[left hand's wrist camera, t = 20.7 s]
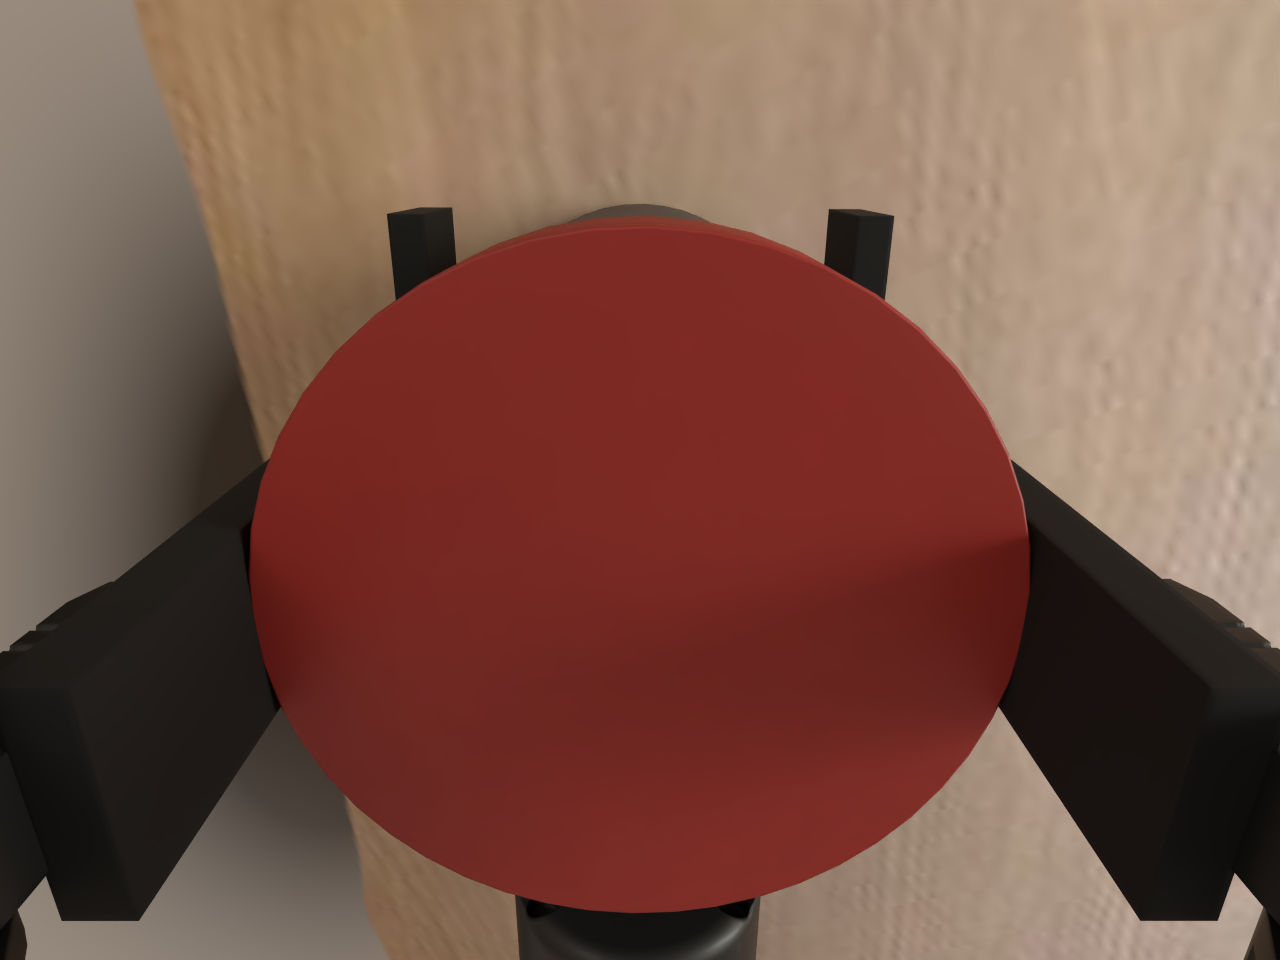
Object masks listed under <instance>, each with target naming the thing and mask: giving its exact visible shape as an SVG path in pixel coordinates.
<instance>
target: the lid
mask: <svg viewBox="0 0 1280 960" xmlns="http://www.w3.org/2000/svg"><path fill="white" fill-rule="evenodd" d="M248 576H249V587H250V596H251V601H252V607H253V613H254V618H255V623H256V628H257V633H258V638H259V643H260V647H261V652H262V657H263V662H264V666H265V669H266V671H267V674H268V676H269V679H270V681H271V684H272V686H273V689H274V691H275V694H276V696H277V699H278V701H279V704H280V706H281V707H282V709H283V711H284V713H285V714H286V716H287V718H288V720H289V721H290V723H291V725H292V727H293V728H294V730H295V732H296V734H297V735H298V737H299V739H300V741H301V742H302V744H303V745H304V746H305V748H306V749H307V750H308V752H309V753H310V754H311V756H312V757H313V758H314V760H315V761H316V762H317V763H318V765H319V766H320V767H321V769H322V770H323V771H324V773H325V774H326V775H327V777H328V778H329V779H330V780H331V781H332V782H333V783H334V784H335V785H336V786H337V787H338V788H339V789H340V790H341V791H342V792H343V793H344V794H345V795H346V796H347V797H348V798H349V799H350V800H351V801H352V802H353V804H354V805H355V806H356V807H357V808H359V809H360V810H361V811H362V812H364V813H365V814H366V815H367V816H368V817H370V818H371V819H372V820H373V821H375V822H376V823H377V824H378V825H379V826H381V827H382V828H383V829H384V830H386V831H387V832H388V833H389V834H391V835H392V836H394V837H395V838H397V839H398V840H400V841H401V842H403V843H405V844H406V845H408V846H409V847H411V848H412V849H414V850H415V851H417V852H418V853H420V854H422V855H423V856H425V857H426V858H428V859H430V860H432V861H434V862H436V863H438V864H440V865H442V866H444V867H446V868H448V869H450V870H452V871H454V872H456V873H458V874H460V875H462V876H464V877H466V878H469V879H472V880H474V881H477V882H480V883H482V884H485V885H487V886H490V887H493V888H495V889H498V890H501V891H503V892H506V893H510V894H514V895H518V896H521V897H525V898H529V899H532V900H536V901H540V902H544V903H548V904H554V905H560V906H566V907H572V908H578V909H584V910H593V911H608V912H623V913H651V912H677V911H685V910H693V909H700V908H708V907H716V906H721V905H725V904H730V903H734V902H738V901H743V900H747V899H752V898H756V897H760V896H763V895H766V894H769V893H772V892H775V891H778V890H781V889H784V888H787V887H790V886H793V885H796V884H799V883H801V882H803V881H805V880H808V879H810V878H812V877H814V876H816V875H819V874H821V873H823V872H825V871H827V870H830V869H832V868H834V867H836V866H838V865H840V864H842V863H844V862H845V861H847V860H849V859H850V858H852V857H854V856H856V855H857V854H859V853H861V852H862V851H864V850H866V849H867V848H869V847H871V846H873V845H874V844H876V843H877V842H879V841H880V840H881V839H883V838H884V837H885V836H887V835H888V834H889V833H891V832H892V831H893V830H895V829H896V828H897V827H899V826H900V825H901V824H903V823H904V822H905V821H907V820H908V819H909V818H911V817H912V816H913V815H914V814H915V813H916V812H917V811H918V810H919V809H920V808H921V807H922V806H923V805H924V804H925V803H926V802H928V801H929V800H930V799H931V798H932V797H933V796H934V795H935V794H936V793H937V792H938V791H939V790H940V789H941V788H942V787H943V786H944V785H945V784H946V782H947V781H948V780H949V779H950V777H951V776H952V775H953V774H954V773H955V771H956V770H957V769H958V768H959V767H960V765H961V764H962V763H963V762H964V761H965V759H966V758H967V757H968V756H969V754H970V753H971V751H972V750H973V748H974V747H975V745H976V743H977V742H978V740H979V739H980V737H981V736H982V734H983V733H984V731H985V729H986V728H987V726H988V725H989V723H990V722H991V720H992V718H993V716H994V714H995V712H996V710H997V707H998V705H999V703H1000V701H1001V699H1002V697H1003V695H1004V692H1005V690H1006V688H1007V686H1008V684H1009V682H1010V680H1011V676H1012V673H1013V670H1014V667H1015V663H1016V658H1017V654H1018V649H1019V645H1020V640H1021V635H1022V630H1023V625H1024V620H1025V614H1026V609H1027V604H1028V598H1029V593H1030V541H1029V535H1028V528H1027V521H1026V515H1025V508H1024V501H1023V497H1022V494H1021V491H1020V488H1019V485H1018V482H1017V478H1016V475H1015V472H1014V469H1013V466H1012V462H1011V459H1010V456H1009V453H1008V451H1007V449H1006V447H1005V445H1004V443H1003V441H1002V439H1001V437H1000V435H999V433H998V431H997V429H996V427H995V425H994V423H993V421H992V419H991V417H990V415H989V413H988V411H987V409H986V407H985V406H984V405H983V403H982V402H981V400H980V399H979V397H978V396H977V395H976V393H975V392H974V390H973V389H972V388H971V386H970V385H969V383H968V382H967V380H966V379H965V378H964V376H963V375H962V373H961V372H960V370H959V369H958V368H957V366H956V365H955V364H954V363H953V362H952V361H951V360H950V359H949V358H948V357H947V356H946V355H945V354H944V353H943V352H942V351H941V350H940V349H939V348H938V346H937V345H936V344H935V343H934V342H933V341H932V340H931V339H930V338H929V337H928V336H927V335H926V334H925V333H924V332H923V331H922V330H921V329H920V328H919V327H918V326H917V325H915V324H914V323H913V322H911V321H910V320H909V319H908V318H906V317H905V316H904V315H902V314H901V313H900V312H898V311H897V310H896V309H895V308H893V307H892V306H891V305H889V304H888V303H887V302H886V301H884V300H883V299H882V298H880V297H879V296H878V295H877V294H875V293H873V292H872V291H870V290H868V289H866V288H864V287H863V286H861V285H859V284H857V283H856V282H854V281H852V280H850V279H848V278H847V277H845V276H843V275H841V274H840V273H838V272H836V271H834V270H833V269H831V268H829V267H827V266H825V265H824V264H822V263H820V262H818V261H816V260H814V259H812V258H811V257H809V256H807V255H805V254H803V253H801V252H799V251H797V250H795V249H792V248H789V247H787V246H784V245H782V244H779V243H777V242H774V241H772V240H769V239H766V238H764V237H761V236H759V235H756V234H754V233H751V232H747V231H742V230H738V229H734V228H730V227H725V226H721V225H717V224H713V223H709V222H704V221H698V220H688V219H677V218H667V217H656V216H635V217H611V218H595V219H590V220H584V221H579V222H573V223H568V224H562V225H557V226H552V227H546V228H543V229H540V230H537V231H534V232H531V233H528V234H525V235H522V236H519V237H516V238H513V239H510V240H507V241H504V242H501V243H498V244H496V245H494V246H492V247H490V248H488V249H486V250H484V251H482V252H480V253H478V254H476V255H474V256H472V257H470V258H468V259H466V260H464V261H462V262H460V263H458V264H456V265H454V266H452V267H450V268H448V269H446V270H444V271H443V272H441V273H439V274H437V275H435V276H433V277H431V278H430V279H428V280H426V281H424V282H422V283H421V284H419V285H418V286H416V287H415V288H413V289H412V290H411V291H409V292H408V293H406V294H405V295H403V296H402V297H400V298H399V299H397V300H396V301H395V302H393V303H392V304H390V305H389V306H387V307H386V308H384V309H383V310H381V311H380V312H379V313H377V314H376V315H375V316H374V317H372V318H371V319H370V320H369V321H368V322H367V323H366V324H365V325H364V326H363V327H362V328H361V329H360V330H359V331H357V332H356V333H355V334H354V335H353V336H352V337H351V338H350V339H349V340H348V341H347V342H346V343H345V344H343V345H342V346H341V347H340V348H339V349H338V350H337V351H336V352H335V353H334V355H333V356H332V357H331V358H330V360H329V361H328V362H327V363H326V365H325V366H324V367H323V368H322V370H321V371H320V372H319V374H318V375H317V376H316V377H315V379H314V380H313V381H312V382H311V384H310V385H309V386H308V387H307V389H306V390H305V391H304V392H303V394H302V396H301V398H300V399H299V401H298V403H297V405H296V406H295V408H294V410H293V412H292V413H291V415H290V417H289V419H288V420H287V422H286V424H285V426H284V427H283V429H282V431H281V433H280V434H279V436H278V439H277V441H276V444H275V447H274V449H273V452H272V454H271V457H270V460H269V462H268V465H267V468H266V470H265V473H264V475H263V478H262V481H261V484H260V489H259V494H258V498H257V503H256V508H255V512H254V517H253V522H252V527H251V539H250V557H249V575H248Z"/></svg>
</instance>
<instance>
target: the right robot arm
mask: <svg viewBox="0 0 1280 960" xmlns="http://www.w3.org/2000/svg"><path fill="white" fill-rule="evenodd" d="M387 219H388V229H389V238H390V248H391V257H392V267H393V277H394V286H395V296H396V300H397V299H399V298H400V297H402V296H403V295H405V294H406V293H408V292H409V291H411V290H412V289H413V288H415V287H416V286H418V285H419V284H421V283H422V282H424V281H426V280H428V279H430V278H431V277H433V276H435V275H437V274H439V273H441V272H443V271H444V270H446V269H448V268H450V267H452V266H454V265H456V253H455V240H454V227H453V213H452V208H415V209H410V210H405V211H400V212H394V213H389V214H387ZM893 223H894V216H891V215H886V214H881V213H876V212H871V211H866V210H861V209H829V215H828V227H827V239H826V250H825V262H824V265H825V266H827V267H829V268H831V269H833V270H834V271H836V272H838V273H840V274H841V275H843V276H845V277H847V278H848V279H850V280H852V281H854V282H856V283H857V284H859V285H861V286H863V287H864V288H866V289H868V290H870V291H872V292H873V293H875V294H877V295H878V296H879V297H880V298H882V299H883V300H884V301H885V293H886V284H887V276H888V267H889V258H890V249H891V240H892V231H893ZM515 900H516V914H517V929H518V943H519V957H520V960H755V958H756V946H757V933H758V920H759V907H760V897H756V898H752V899H747V900H743V901H738V902H734V903H730V904H725V905H721V906H716V907H708V908H700V909H693V910H685V911H677V912H651V913H623V912H608V911H593V910H584V909H578V908H572V907H566V906H560V905H554V904H548V903H544V902H540V901H536V900H532V899H529V898H525V897H521V896H518V895H515Z"/></svg>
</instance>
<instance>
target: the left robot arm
mask: <svg viewBox="0 0 1280 960" xmlns="http://www.w3.org/2000/svg"><path fill="white" fill-rule="evenodd" d="M269 460H270V459H268V460H267V461H266V462H265V463H263V464H262V465H261V466H260V467H258V468H257V469H256V470H255V471H253V472H252V473H251V474H250V475H248V476H247V477H246V478H244V479H243V480H242V481H241V482H239V483H238V484H237V485H236V486H234V487H233V488H232V489H231V490H229V491H228V492H227V493H226V494H224V495H223V496H222V497H220V498H219V499H218V500H217V501H216V502H214V503H213V504H212V505H210V506H209V507H208V508H207V509H205V510H204V511H203V512H202V513H200V514H199V515H198V516H197V517H195V518H194V519H193V520H191V521H190V522H189V523H188V524H186V525H185V526H184V527H183V528H181V529H180V530H179V531H178V532H176V533H175V534H174V535H173V536H171V537H170V538H169V539H167V540H166V541H165V542H164V543H162V544H161V545H160V546H159V547H157V548H156V549H155V550H154V551H152V552H151V553H150V554H149V555H147V556H146V557H145V558H143V559H142V560H141V561H140V562H138V563H137V564H136V565H135V566H133V567H132V568H131V569H130V570H128V571H127V572H126V573H125V574H123V575H122V576H121V577H120V578H118V579H117V580H116V581H114V582H109V583H107V584H104V585H102V586H100V587H98V588H96V589H94V590H92V591H90V592H88V593H86V594H83V595H81V596H79V597H77V598H75V599H73V600H71V601H69V602H67V603H66V604H64V605H63V606H62V607H60V608H59V609H58V610H56V611H55V612H54V613H52V614H51V615H50V616H49V617H47V618H46V619H45V620H43V621H42V622H41V623H39V624H38V625H37V626H36V631H29V632H28V633H26V634H25V635H24V636H22V637H21V638H20V639H18V640H17V641H16V642H14V643H13V644H12V645H11V646H10V650H9V651H3V652H1V653H0V960H25V956H26V950H27V941H26V935H25V929H24V926H23V923H22V921H21V918H20V915H19V913H18V908H19V907H20V906H21V905H22V904H23V903H24V901H25V900H26V899H27V898H28V896H29V895H30V894H31V893H32V892H33V891H34V889H35V888H36V887H37V886H38V885H39V883H40V882H41V881H42V880H43V879H44V877H45V876H46V878H47V880H48V883H49V886H50V889H51V892H52V895H53V897H54V900H55V903H56V906H57V909H58V911H59V914H60V917H61V920H62V921H139V920H140V918H141V917H142V915H143V914H144V912H145V911H146V909H147V908H148V906H149V905H150V903H151V902H152V900H153V899H154V897H155V896H156V894H157V893H158V891H159V890H160V888H161V887H162V885H163V884H164V882H165V881H166V879H167V878H168V876H169V875H170V873H171V872H172V870H173V869H174V867H175V866H176V864H177V863H178V861H179V860H180V858H181V857H182V855H183V854H184V852H185V850H186V849H187V847H188V846H189V844H190V843H191V841H192V840H193V838H194V837H195V835H196V834H197V832H198V831H199V829H200V828H201V826H202V825H203V823H204V822H205V820H206V819H207V817H208V816H209V814H210V813H211V811H212V810H213V808H214V807H215V805H216V804H217V802H218V801H219V799H220V798H221V796H222V795H223V793H224V792H225V790H226V789H227V787H228V786H229V784H230V783H231V781H232V780H233V778H234V777H235V775H236V774H237V772H238V770H239V769H240V767H241V766H242V765H243V763H244V761H245V760H246V758H247V757H248V755H249V754H250V752H251V751H252V749H253V748H254V746H255V745H256V743H257V742H258V740H259V739H260V737H261V736H262V734H263V733H264V731H265V730H266V728H267V727H268V725H269V724H270V722H271V721H272V719H273V718H274V716H275V715H276V713H277V712H278V710H279V709H280V707H281V706H280V704H279V701H278V699H277V696H276V694H275V691H274V689H273V686H272V684H271V681H270V679H269V676H268V674H267V671H266V669H265V666H264V662H263V657H262V652H261V647H260V643H259V638H258V633H257V628H256V623H255V618H254V613H253V607H252V601H251V596H250V587H249V576H248V575H249V557H250V539H251V527H252V522H253V517H254V512H255V508H256V503H257V498H258V494H259V489H260V484H261V481H262V478H263V475H264V473H265V470H266V468H267V465H268V462H269ZM1011 462H1012V466H1013V469H1014V472H1015V475H1016V478H1017V482H1018V485H1019V488H1020V491H1021V494H1022V497H1023V501H1024V508H1025V515H1026V521H1027V528H1028V535H1029V541H1030V593H1029V598H1028V604H1027V609H1026V614H1025V620H1024V625H1023V630H1022V635H1021V640H1020V645H1019V649H1018V654H1017V658H1016V663H1015V667H1014V670H1013V673H1012V676H1011V680H1010V682H1009V684H1008V686H1007V688H1006V690H1005V692H1004V695H1003V697H1002V699H1001V701H1000V703H999V705H998V706H999V708H1000V709H1001V711H1002V712H1003V714H1004V715H1005V717H1006V718H1007V720H1008V722H1009V723H1010V725H1011V726H1012V728H1013V729H1014V731H1015V732H1016V734H1017V735H1018V737H1019V738H1020V740H1021V741H1022V743H1023V744H1024V746H1025V747H1026V749H1027V750H1028V752H1029V753H1030V755H1031V756H1032V758H1033V759H1034V761H1035V762H1036V764H1037V765H1038V767H1039V768H1040V770H1041V771H1042V773H1043V774H1044V776H1045V777H1046V779H1047V780H1048V782H1049V783H1050V785H1051V786H1052V788H1053V789H1054V791H1055V792H1056V794H1057V795H1058V797H1059V798H1060V800H1061V801H1062V803H1063V805H1064V806H1065V808H1066V809H1067V811H1068V812H1069V814H1070V815H1071V817H1072V818H1073V820H1074V821H1075V823H1076V824H1077V826H1078V827H1079V829H1080V830H1081V832H1082V833H1083V835H1084V836H1085V838H1086V839H1087V841H1088V842H1089V844H1090V845H1091V847H1092V848H1093V850H1094V851H1095V853H1096V854H1097V856H1098V857H1099V859H1100V860H1101V862H1102V863H1103V865H1104V866H1105V868H1106V869H1107V871H1108V872H1109V874H1110V875H1111V877H1112V878H1113V880H1114V881H1115V883H1116V884H1117V886H1118V888H1119V889H1120V891H1121V892H1122V894H1123V895H1124V897H1125V898H1126V900H1127V901H1128V903H1129V904H1130V906H1131V907H1132V909H1133V910H1134V912H1135V913H1136V915H1137V916H1138V918H1139V919H1140V921H1218V918H1219V915H1220V912H1221V910H1222V907H1223V904H1224V901H1225V898H1226V895H1227V893H1228V890H1229V887H1230V884H1231V881H1232V879H1233V876H1234V873H1236V875H1237V876H1238V877H1239V878H1240V879H1241V881H1242V882H1243V883H1244V884H1245V885H1246V887H1247V888H1248V889H1249V890H1250V891H1251V893H1252V894H1253V895H1254V896H1255V897H1256V898H1257V900H1258V901H1259V902H1260V903H1261V904H1262V906H1263V910H1262V913H1261V915H1260V918H1259V921H1258V923H1257V926H1256V928H1255V931H1254V934H1253V936H1252V939H1251V942H1250V944H1249V947H1248V950H1247V952H1246V955H1245V957H1244V960H1280V650H1279V649H1278V648H1271V646H1270V642H1269V641H1268V640H1266V639H1265V638H1264V637H1262V636H1261V635H1260V634H1258V633H1257V632H1256V631H1254V630H1253V629H1252V628H1245V627H1244V622H1242V621H1241V620H1240V619H1238V618H1237V617H1236V616H1235V615H1233V614H1232V613H1231V612H1229V611H1228V610H1227V609H1225V608H1224V607H1223V606H1221V605H1220V604H1219V603H1217V602H1216V601H1215V600H1213V599H1212V598H1209V597H1207V596H1205V595H1203V594H1201V593H1199V592H1197V591H1195V590H1193V589H1190V588H1188V587H1186V586H1184V585H1182V584H1180V583H1178V582H1176V581H1173V580H1171V579H1161V578H1160V577H1159V576H1157V575H1156V574H1155V573H1154V572H1152V571H1151V570H1150V569H1149V568H1147V567H1146V566H1145V565H1144V564H1142V563H1141V562H1140V561H1138V560H1137V559H1136V558H1135V557H1133V556H1132V555H1131V554H1130V553H1128V552H1127V551H1126V550H1125V549H1123V548H1122V547H1121V546H1120V545H1118V544H1117V543H1116V542H1115V541H1113V540H1112V539H1111V538H1109V537H1108V536H1107V535H1106V534H1104V533H1103V532H1102V531H1101V530H1099V529H1098V528H1097V527H1096V526H1094V525H1093V524H1092V523H1091V522H1089V521H1088V520H1087V519H1085V518H1084V517H1083V516H1082V515H1080V514H1079V513H1078V512H1077V511H1075V510H1074V509H1073V508H1072V507H1070V506H1069V505H1068V504H1067V503H1065V502H1064V501H1063V500H1061V499H1060V498H1059V497H1058V496H1056V495H1055V494H1054V493H1053V492H1051V491H1050V490H1049V489H1048V488H1046V487H1045V486H1044V485H1043V484H1041V483H1040V482H1039V481H1038V480H1036V479H1035V478H1034V477H1032V476H1031V475H1030V474H1029V473H1027V472H1026V471H1025V470H1024V469H1022V468H1021V467H1020V466H1019V465H1017V464H1016V463H1015V462H1014V461H1012V460H1011Z"/></svg>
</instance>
